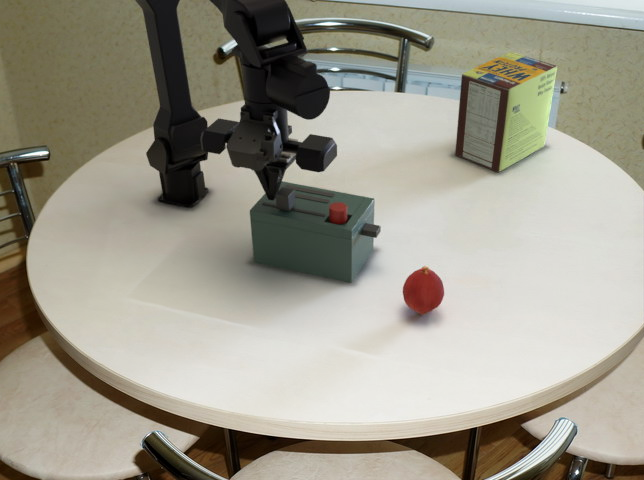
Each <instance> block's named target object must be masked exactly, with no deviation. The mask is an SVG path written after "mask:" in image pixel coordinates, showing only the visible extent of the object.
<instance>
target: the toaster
mask: <svg viewBox="0 0 644 480" xmlns="http://www.w3.org/2000/svg"><path fill="white" fill-rule="evenodd" d="M282 187H285V188H290V189H295V205H294V206H293V207H292V208H291V209H290V211H285V210H280V209H277V208H276V198H275V199H274V200H273V201H272V200H268V198H267V196H266V194H265V193H264V194H263V195H262V196H261V197H260V198H259V199H258V200H257V202H255V204H254V205H253V206H252V207H250V209H249V220H250V230H251V231H250V232H251V243H252V244H251V245H252V255H253V263H256V264H260V265H265V266H269V267H275V268H279V269H284V270H288V271H292V272H293V271H294V272H298V273H303V274H307V275H311V276H317V277H322V278H327V279H331V280H335V281H340V282H345V283H349V284H352V283H353V282H354V280H355V278H356V277H357V276H358V274H359V272H361V269H362V268H363V266H364V265H365V263H366V262H367V260H368V259H369V257H370V255H371V254H372V253H373V251H374V238H375V239H377V238H378V237H379V235H380V233H381V231H382V229H381V228H382V226H381V225H378V224H375V198H374V197H369V196H364V195H358V194H352V193H348V192H342V191H337V190H331V189H327V188H322V187H321V188H320V187H315V186H310V185H304V184H299V183H293V182H288V181H283V180H282V182H281V185H280V188H279V190H280V189H281V188H282ZM279 190H278V191H279ZM337 202H340V203H344V204H346V205H347V222H346V223H344V224H340V225H338V224H333V223H331V222H330V221H329V206H330V205H331V204H332V203H337Z"/></svg>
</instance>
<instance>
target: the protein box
mask: <svg viewBox="0 0 644 480" xmlns="http://www.w3.org/2000/svg"><path fill="white" fill-rule="evenodd" d="M557 71H558V66H557V65H556V64H552V63H549V62H545V61H542V60H539V59H535V58H532V57H529V56H526V55H523V54H519V53H517V52H514V51H508V52H506V53H505V54H502V55H500V56H498V57H496V58H494V59H491V60H489V61H486V62H484V63H481V64H480V65H478V66H476V67H473V68H471V69H469V70H466V71H465V72H463V73H462V74H461V79H460V80H461V81H460V92H459V94H460V95H459V104H458V116H457V128H456V139H455V152H454V156H456V157H459V158H461V159H464V160H467V161H468V162H469V161H470V162H472V163H475V164H477V165H480V166H482V167H485V168H486V169H490V170H491V171H495V172H497V173H500V172H502V171H503V170H505V169H507V168H509V167H511V166H512V165H514V164H516V163H518V162H520V161H522V160H523V159H524V158H526V157H528V156H530V155H532V154H533V153H534V152H536V151H539V150H540V149H542V148H543V147H545V145H546V140H547V139H546V138H547V132H548V125H549V119H550V114H551V107H552V101H553V95H554V88H555V82H556V75H557Z"/></svg>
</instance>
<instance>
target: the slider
mask: <svg viewBox="0 0 644 480" xmlns="http://www.w3.org/2000/svg"><path fill="white" fill-rule="evenodd" d="M294 205H295V189H290V188H285V187H282V188H281V189H280V190H279V191H278V192H277V193H276V208H277V209H280V210H285V211H290V209H291V208H292V207H293V206H294Z"/></svg>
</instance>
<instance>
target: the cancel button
mask: <svg viewBox="0 0 644 480" xmlns="http://www.w3.org/2000/svg"><path fill="white" fill-rule="evenodd" d="M329 221H330V222H331V223H333V224H338V225H340V224H344V223H346V222H347V205H346V204H344V203H340V202H337V203H332V204H331V205H330V206H329Z"/></svg>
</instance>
